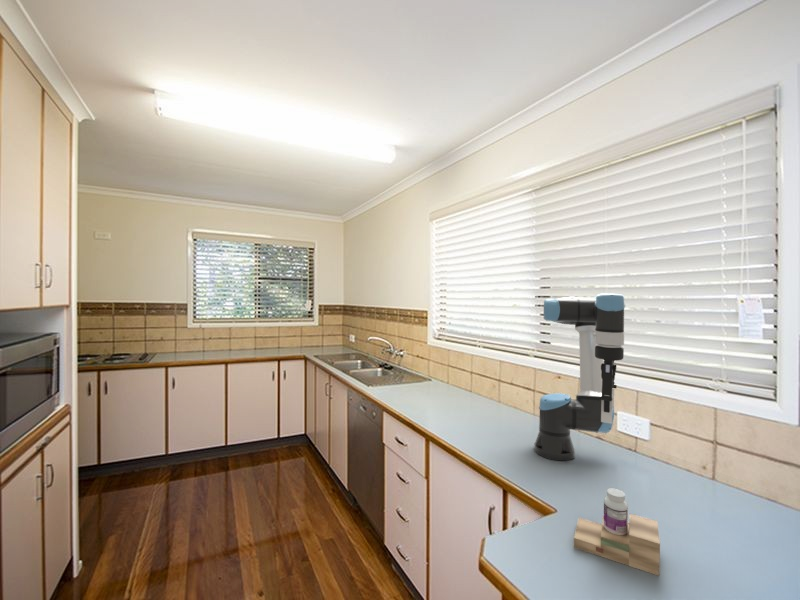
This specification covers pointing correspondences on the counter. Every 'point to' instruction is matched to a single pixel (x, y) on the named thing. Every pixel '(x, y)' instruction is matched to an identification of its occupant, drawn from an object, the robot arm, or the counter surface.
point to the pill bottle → (615, 512)
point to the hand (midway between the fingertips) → (607, 415)
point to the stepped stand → (622, 543)
